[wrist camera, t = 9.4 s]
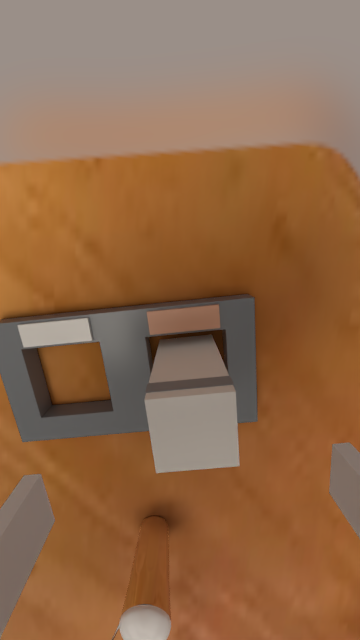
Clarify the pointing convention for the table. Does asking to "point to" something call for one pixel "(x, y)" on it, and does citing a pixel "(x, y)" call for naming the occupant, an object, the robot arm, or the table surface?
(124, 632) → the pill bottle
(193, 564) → the table surface
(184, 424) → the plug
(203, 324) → the socket block
